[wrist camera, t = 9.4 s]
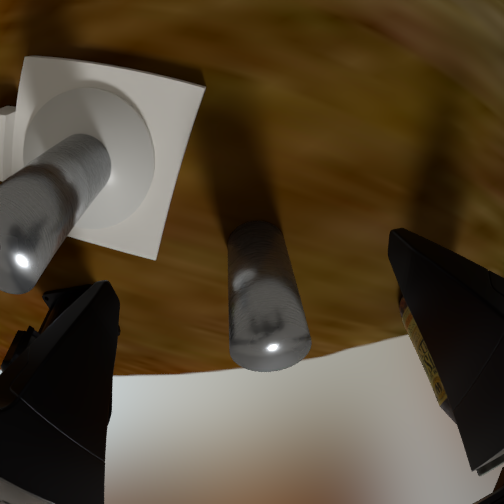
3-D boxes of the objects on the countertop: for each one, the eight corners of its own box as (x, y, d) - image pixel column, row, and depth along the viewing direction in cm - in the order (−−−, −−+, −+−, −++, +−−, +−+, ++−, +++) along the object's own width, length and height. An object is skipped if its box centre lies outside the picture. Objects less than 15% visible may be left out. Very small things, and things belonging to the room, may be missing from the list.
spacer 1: (67, 202, 19) (-6, 298, 11) (45, 145, 17) (-51, 220, 9) (120, 186, 19) (56, 287, 11) (99, 124, 17) (6, 192, 8)
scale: (158, 251, 24) (152, 270, 22) (1, 207, 21) (-14, 221, 19) (206, 86, 18) (203, 90, 16) (12, 54, 14) (-7, 57, 12)
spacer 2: (233, 272, 26) (238, 376, 18) (222, 226, 24) (221, 329, 15) (287, 263, 26) (312, 364, 18) (281, 216, 23) (309, 314, 15)
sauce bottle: (403, 276, 28) (498, 465, 12) (452, 269, 28) (550, 429, 12) (389, 323, 32) (455, 490, 15) (434, 314, 32) (507, 462, 15)
